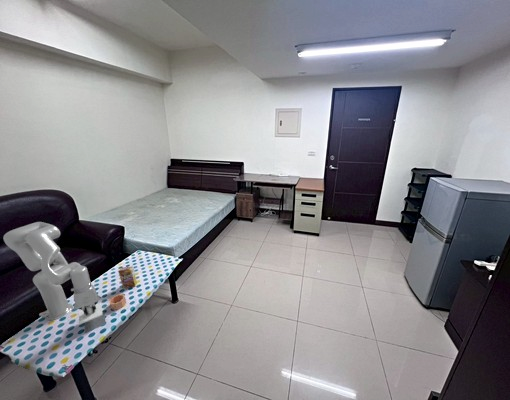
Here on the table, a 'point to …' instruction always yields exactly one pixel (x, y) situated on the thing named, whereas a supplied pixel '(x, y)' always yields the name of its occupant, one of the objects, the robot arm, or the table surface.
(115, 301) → the bowl
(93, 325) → the mat
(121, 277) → the candy box
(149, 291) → the table surface
